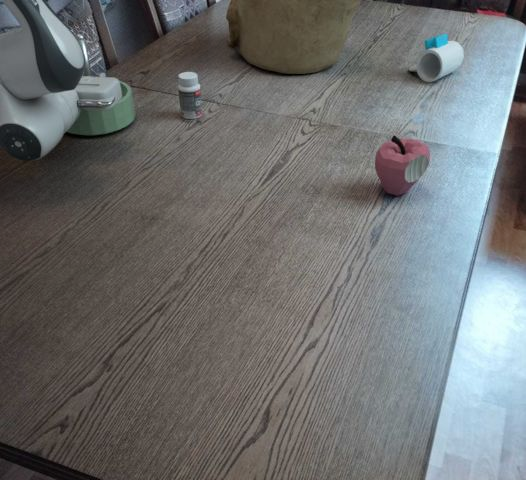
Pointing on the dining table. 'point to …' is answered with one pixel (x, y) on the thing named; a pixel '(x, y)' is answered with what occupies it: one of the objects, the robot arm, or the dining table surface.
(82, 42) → the metal stand
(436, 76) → the mug
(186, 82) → the pill bottle
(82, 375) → the dining table surface
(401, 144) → the apple
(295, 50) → the ceramic vessel
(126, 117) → the bowl
